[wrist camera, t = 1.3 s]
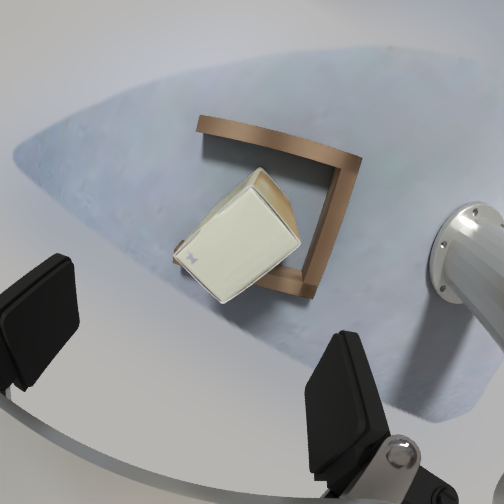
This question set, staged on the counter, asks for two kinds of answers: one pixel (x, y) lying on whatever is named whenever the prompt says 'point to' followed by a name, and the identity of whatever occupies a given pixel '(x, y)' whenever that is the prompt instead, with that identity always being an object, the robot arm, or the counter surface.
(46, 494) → the robot arm
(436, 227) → the counter surface
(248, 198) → the skincare box
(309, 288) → the open wooden u frame
